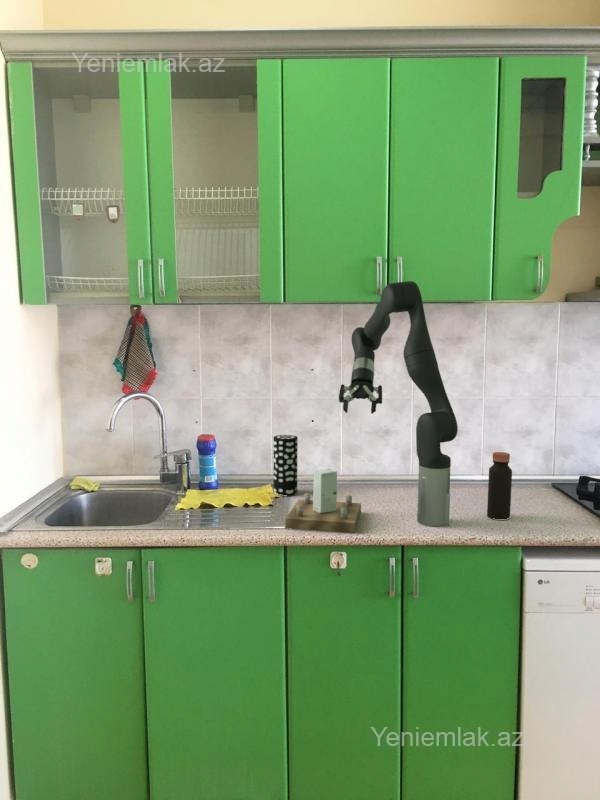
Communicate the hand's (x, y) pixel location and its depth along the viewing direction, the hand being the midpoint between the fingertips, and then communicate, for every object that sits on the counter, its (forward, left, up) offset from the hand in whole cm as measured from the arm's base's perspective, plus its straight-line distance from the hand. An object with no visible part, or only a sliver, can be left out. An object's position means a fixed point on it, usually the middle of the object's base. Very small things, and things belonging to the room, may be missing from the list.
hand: (359, 411), depth 200 cm
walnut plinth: (+8, +20, -31) cm, 37 cm away
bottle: (-44, +6, -31) cm, 54 cm away
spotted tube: (+26, -7, -31) cm, 41 cm away
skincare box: (+8, +19, -28) cm, 35 cm away
